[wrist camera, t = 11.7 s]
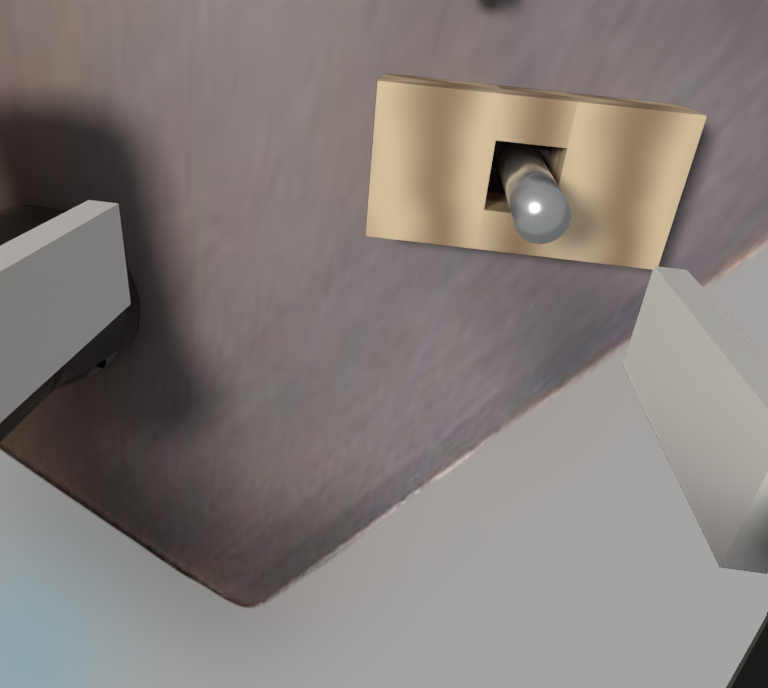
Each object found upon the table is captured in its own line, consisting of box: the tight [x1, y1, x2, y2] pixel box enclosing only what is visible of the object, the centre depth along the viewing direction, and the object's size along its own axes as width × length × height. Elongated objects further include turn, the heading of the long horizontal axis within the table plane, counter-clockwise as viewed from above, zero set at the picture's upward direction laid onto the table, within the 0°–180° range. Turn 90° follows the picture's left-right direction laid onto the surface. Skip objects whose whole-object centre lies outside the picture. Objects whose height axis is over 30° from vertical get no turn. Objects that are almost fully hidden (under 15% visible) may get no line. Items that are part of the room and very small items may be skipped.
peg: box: [498, 143, 571, 244], centre depth 39 cm, size 3×3×13 cm
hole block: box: [366, 74, 707, 270], centre depth 42 cm, size 20×10×5 cm, turn 85°
